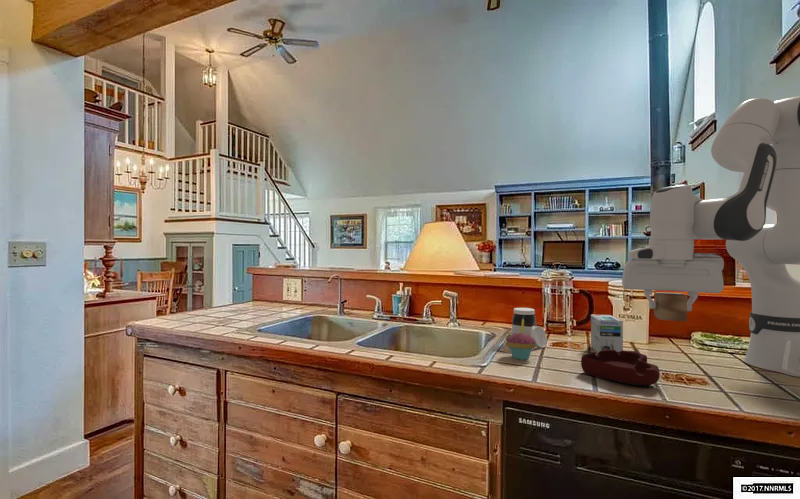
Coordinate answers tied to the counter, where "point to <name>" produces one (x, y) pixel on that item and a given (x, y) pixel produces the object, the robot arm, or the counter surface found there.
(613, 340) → the light bulb box
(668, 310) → the grey-brown cube
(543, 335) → the spread jar
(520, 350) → the cupcake
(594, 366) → the ashtray
